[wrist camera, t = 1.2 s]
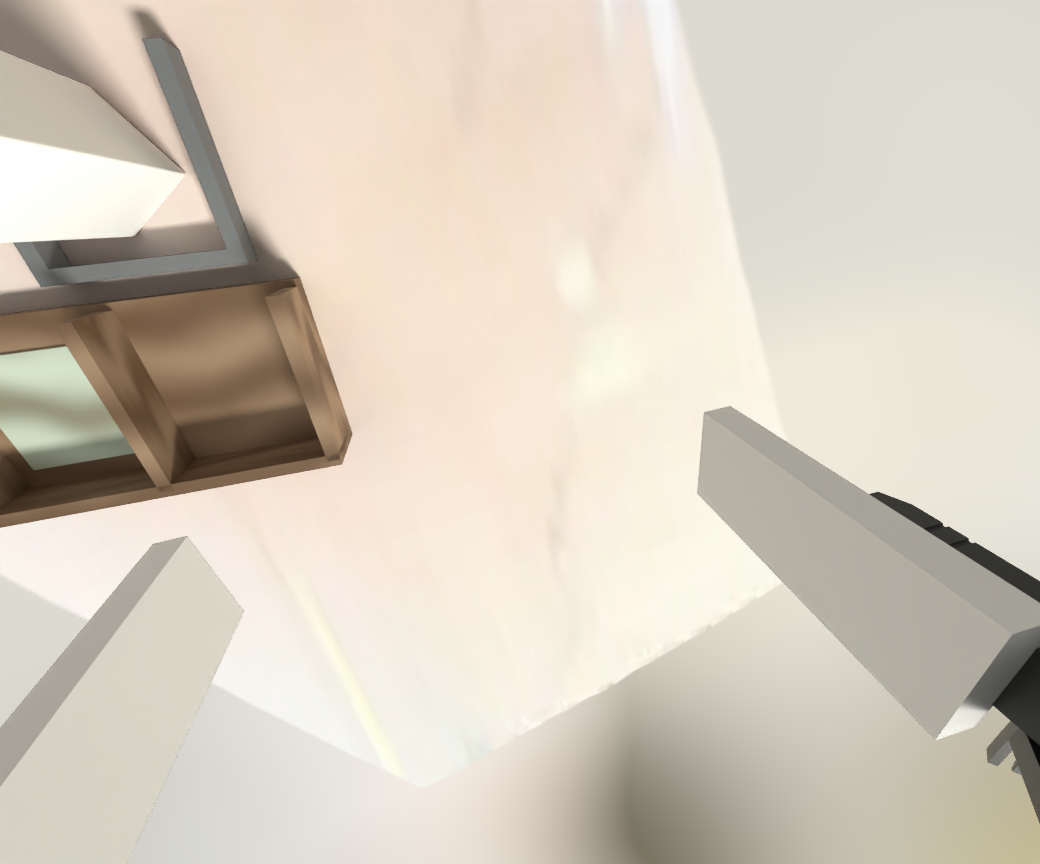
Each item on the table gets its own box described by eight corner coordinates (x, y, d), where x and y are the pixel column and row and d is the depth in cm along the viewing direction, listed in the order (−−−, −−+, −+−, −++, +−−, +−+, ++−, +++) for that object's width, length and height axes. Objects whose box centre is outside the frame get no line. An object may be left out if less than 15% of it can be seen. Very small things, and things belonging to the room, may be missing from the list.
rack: (-93, 326, 28) (-198, 347, 24) (299, 277, 32) (277, 287, 27) (39, 489, 35) (-22, 531, 30) (352, 434, 38) (342, 464, 34)
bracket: (-68, 63, 23) (-108, 50, 22) (179, 50, 25) (161, 37, 23) (64, 283, 29) (41, 287, 27) (258, 260, 31) (247, 262, 29)
